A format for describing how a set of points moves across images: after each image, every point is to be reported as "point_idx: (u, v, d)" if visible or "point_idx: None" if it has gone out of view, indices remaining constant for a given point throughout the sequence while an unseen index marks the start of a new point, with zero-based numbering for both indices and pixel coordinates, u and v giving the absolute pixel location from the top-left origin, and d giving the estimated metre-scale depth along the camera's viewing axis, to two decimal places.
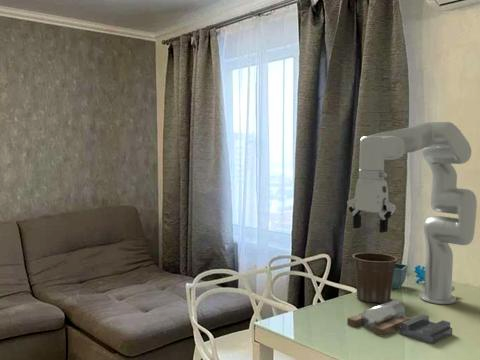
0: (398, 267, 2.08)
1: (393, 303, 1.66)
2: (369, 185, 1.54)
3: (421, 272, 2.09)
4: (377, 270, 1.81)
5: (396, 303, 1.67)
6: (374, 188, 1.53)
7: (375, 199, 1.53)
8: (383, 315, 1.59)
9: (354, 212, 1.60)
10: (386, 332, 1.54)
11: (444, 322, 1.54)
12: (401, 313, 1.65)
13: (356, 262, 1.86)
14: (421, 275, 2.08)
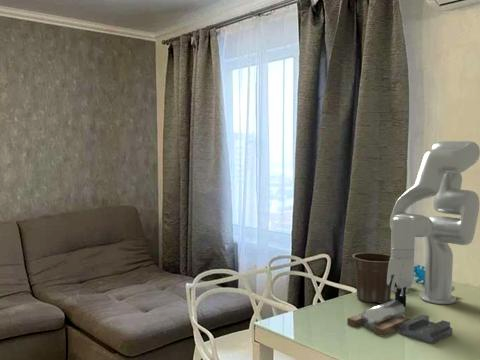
0: None
1: (393, 303, 1.66)
2: (410, 262, 1.68)
3: (420, 272, 2.10)
4: (377, 270, 1.81)
5: (396, 302, 1.67)
6: (412, 264, 1.69)
7: (412, 273, 1.70)
8: (382, 315, 1.59)
9: (402, 292, 1.68)
10: (386, 332, 1.54)
11: (444, 322, 1.54)
12: (401, 313, 1.65)
13: (356, 262, 1.86)
14: (420, 275, 2.08)
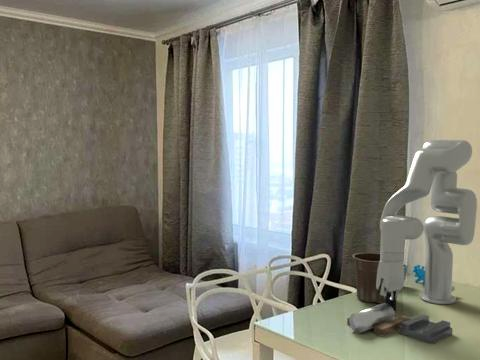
0: None
1: (382, 306, 1.62)
2: (400, 265, 1.64)
3: (420, 272, 2.10)
4: None
5: (386, 306, 1.63)
6: (402, 267, 1.65)
7: (402, 276, 1.66)
8: (371, 319, 1.55)
9: (392, 296, 1.64)
10: (386, 332, 1.54)
11: (444, 322, 1.54)
12: (390, 317, 1.61)
13: (356, 262, 1.86)
14: (420, 275, 2.09)
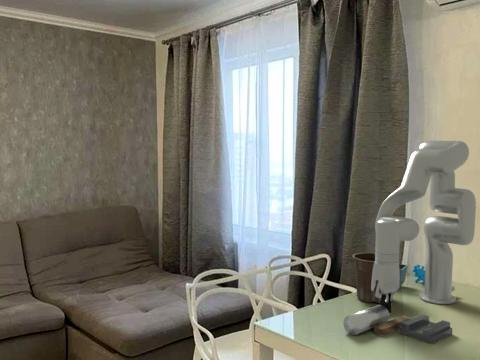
0: None
1: (377, 308, 1.60)
2: (395, 267, 1.62)
3: (420, 272, 2.10)
4: None
5: (380, 307, 1.61)
6: (397, 268, 1.64)
7: (398, 278, 1.64)
8: (365, 321, 1.53)
9: (387, 298, 1.62)
10: (386, 332, 1.54)
11: (444, 322, 1.54)
12: (385, 318, 1.59)
13: (356, 262, 1.86)
14: (419, 274, 2.09)
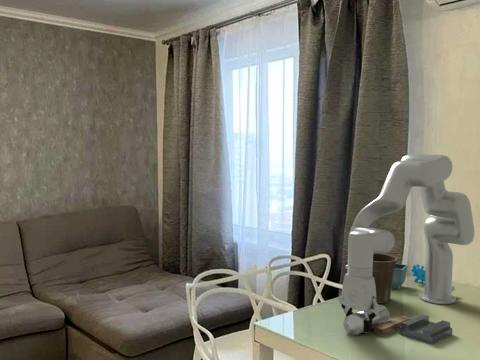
0: (398, 267, 2.08)
1: None
2: None
3: (419, 271, 2.11)
4: (377, 270, 1.81)
5: (381, 308, 1.60)
6: None
7: None
8: None
9: None
10: (386, 332, 1.54)
11: (444, 322, 1.54)
12: (385, 319, 1.59)
13: None
14: (418, 274, 2.09)
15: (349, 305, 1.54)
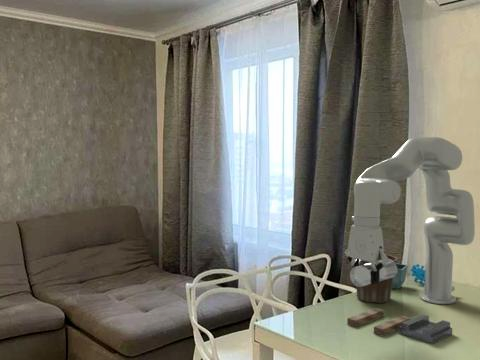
0: (398, 267, 2.08)
1: None
2: None
3: (418, 271, 2.11)
4: None
5: None
6: None
7: None
8: None
9: None
10: (386, 332, 1.54)
11: (444, 322, 1.54)
12: (393, 272, 1.56)
13: None
14: (417, 274, 2.10)
15: (356, 256, 1.50)
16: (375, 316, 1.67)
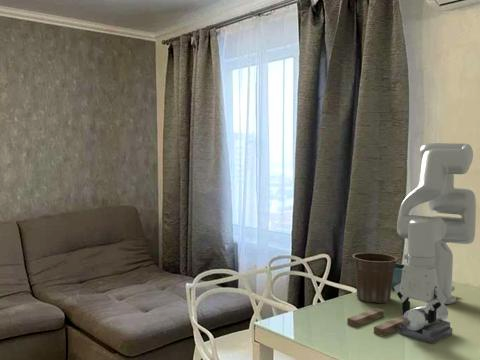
0: (398, 267, 2.08)
1: None
2: None
3: None
4: (377, 270, 1.81)
5: None
6: None
7: None
8: (427, 317, 1.49)
9: None
10: (386, 332, 1.54)
11: (444, 322, 1.54)
12: (444, 316, 1.56)
13: (356, 262, 1.86)
14: None
15: (409, 295, 1.50)
16: (375, 316, 1.67)
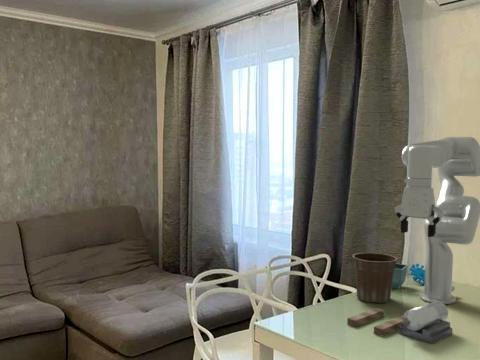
0: (398, 267, 2.08)
1: (436, 305, 1.56)
2: None
3: (417, 270, 2.12)
4: (377, 270, 1.81)
5: (440, 304, 1.57)
6: None
7: None
8: (427, 317, 1.49)
9: None
10: (386, 332, 1.54)
11: (444, 322, 1.54)
12: (444, 316, 1.56)
13: (356, 262, 1.86)
14: (416, 273, 2.11)
15: (409, 214, 1.66)
16: (375, 316, 1.67)
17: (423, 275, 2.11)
